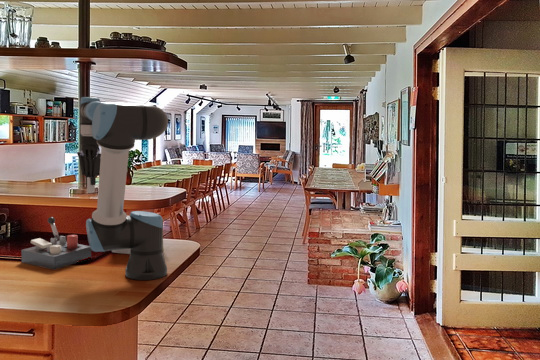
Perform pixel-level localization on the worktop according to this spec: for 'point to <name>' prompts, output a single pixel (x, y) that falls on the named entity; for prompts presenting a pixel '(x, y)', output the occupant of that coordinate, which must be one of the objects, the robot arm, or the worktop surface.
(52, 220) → the lever
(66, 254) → the console
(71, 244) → the button red
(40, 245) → the rocker
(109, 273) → the worktop surface
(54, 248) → the button ivory
